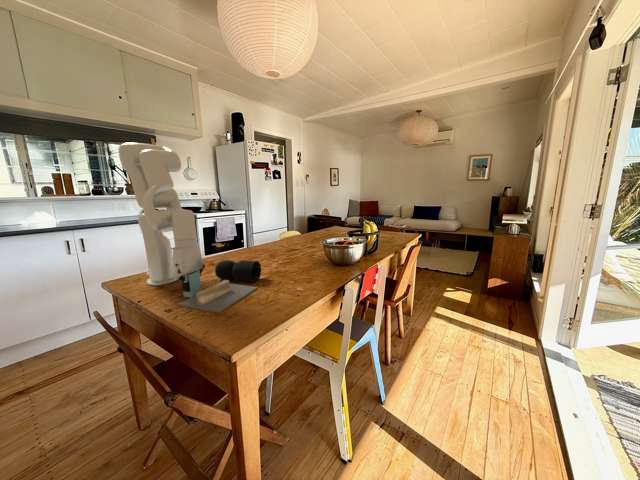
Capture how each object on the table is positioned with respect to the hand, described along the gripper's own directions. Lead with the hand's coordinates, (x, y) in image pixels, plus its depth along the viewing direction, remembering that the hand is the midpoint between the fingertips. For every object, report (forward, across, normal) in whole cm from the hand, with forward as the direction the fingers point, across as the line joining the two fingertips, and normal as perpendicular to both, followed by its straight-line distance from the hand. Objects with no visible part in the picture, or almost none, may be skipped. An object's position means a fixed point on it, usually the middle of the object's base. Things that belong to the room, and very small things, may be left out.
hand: (192, 288), depth 98 cm
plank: (+3, 0, +11) cm, 11 cm away
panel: (+3, -2, +12) cm, 12 cm away
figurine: (+3, -19, +7) cm, 21 cm away
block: (+3, 0, 0) cm, 3 cm away
